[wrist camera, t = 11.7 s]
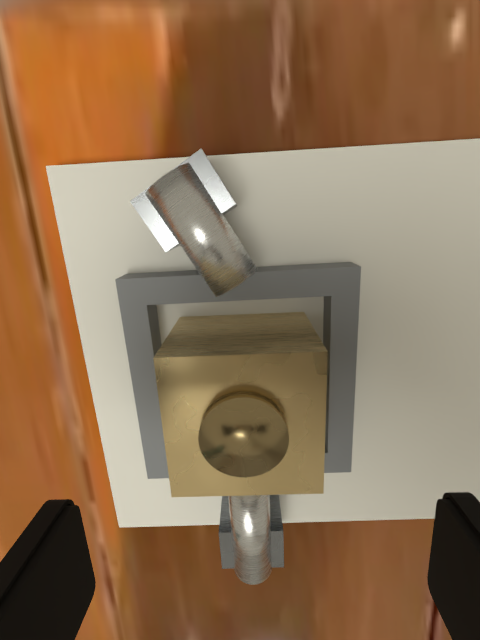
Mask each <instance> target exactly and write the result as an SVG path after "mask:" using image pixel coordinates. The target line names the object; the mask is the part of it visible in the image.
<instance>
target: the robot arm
mask: <svg viewBox="0 0 480 640" xmlns="http://www.w3.org/2000/svg"><path fill="white" fill-rule="evenodd" d="M428 586H429V590H430V593H431V596H432V598H433V600H434V602H435V604H436V606H437V608H438V610H439V612H440V615H441V617H442V619H443V621H444V623H445V625H446V627H447V629H448V631H449V633H450V635H451V637H452V639H453V640H480V502H479V501H478V499H477V498H476V497H475V496H474V495H473V494H472V493H470V492H449V493H444V495H443V498H442V499H438V500H437V503H436V512H435V520H434V528H433V536H432V545H431V553H430V561H429V570H428ZM94 591H95V577H94V572H93V568H92V563H91V558H90V554H89V549H88V545H87V540H86V536H85V531H84V527H83V522H82V517H81V513H80V509H79V507H78V506H77V505H74V503H73V501H72V500H69V499H67V500H48V501H46V502H45V503H44V505H43V506H42V507H41V509H40V510H39V511H38V513H37V514H36V515H35V517H34V518H33V519H32V521H31V522H30V523H29V525H28V526H27V527H26V529H25V530H24V531H23V533H22V534H21V535H20V537H19V538H18V539H17V541H16V542H15V543H14V545H13V546H12V547H11V549H10V550H9V551H8V553H7V554H6V555H5V557H4V558H3V559H2V561H1V562H0V640H75V637H76V635H77V633H78V630H79V628H80V626H81V623H82V621H83V619H84V616H85V614H86V612H87V609H88V607H89V605H90V602H91V600H92V598H93V595H94Z"/></svg>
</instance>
